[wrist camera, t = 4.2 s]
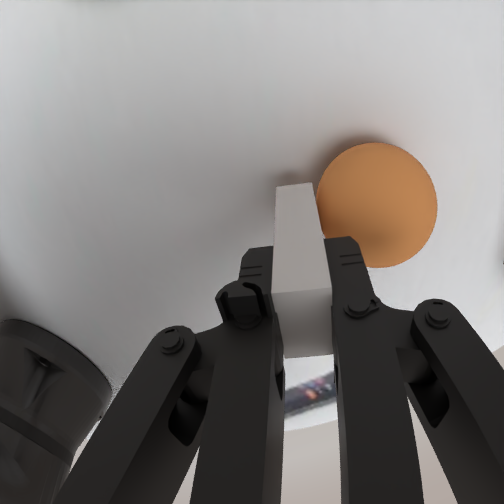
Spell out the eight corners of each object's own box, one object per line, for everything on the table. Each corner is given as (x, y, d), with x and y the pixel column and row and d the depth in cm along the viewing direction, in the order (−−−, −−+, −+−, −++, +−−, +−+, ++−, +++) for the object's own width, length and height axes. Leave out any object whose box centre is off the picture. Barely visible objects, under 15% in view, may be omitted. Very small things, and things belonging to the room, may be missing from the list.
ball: (298, 272, 15) (409, 310, 12) (282, 159, 12) (424, 179, 9) (351, 218, 18) (441, 241, 15) (344, 126, 15) (449, 138, 12)
